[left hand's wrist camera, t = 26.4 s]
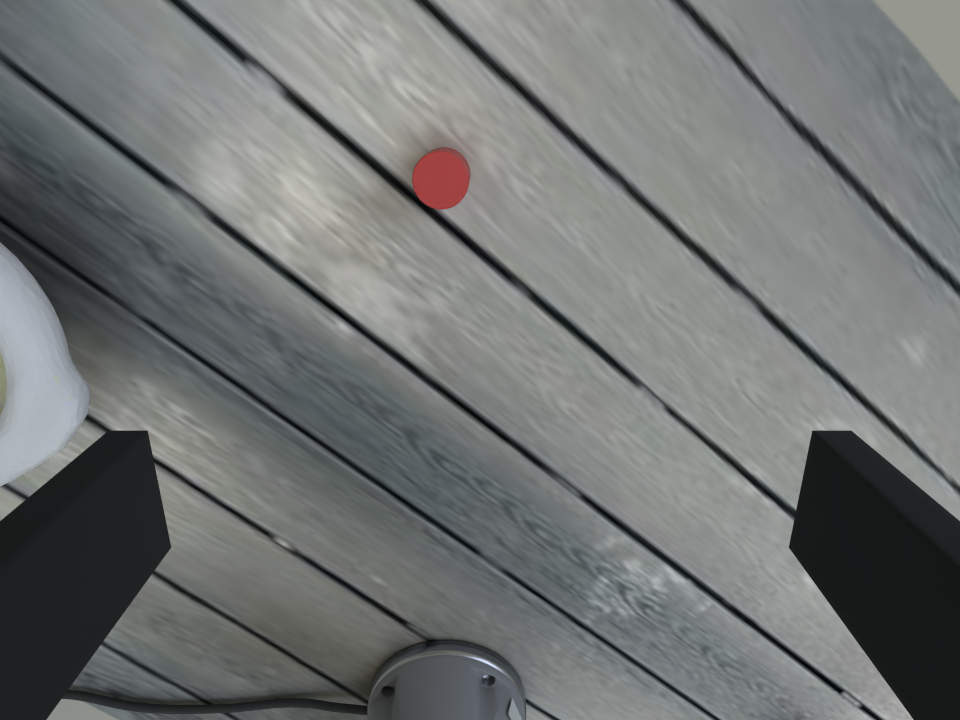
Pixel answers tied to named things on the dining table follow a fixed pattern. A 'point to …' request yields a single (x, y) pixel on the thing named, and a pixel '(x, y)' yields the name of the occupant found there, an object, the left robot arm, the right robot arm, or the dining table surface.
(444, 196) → the can
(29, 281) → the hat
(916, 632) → the left robot arm
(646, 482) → the dining table surface
